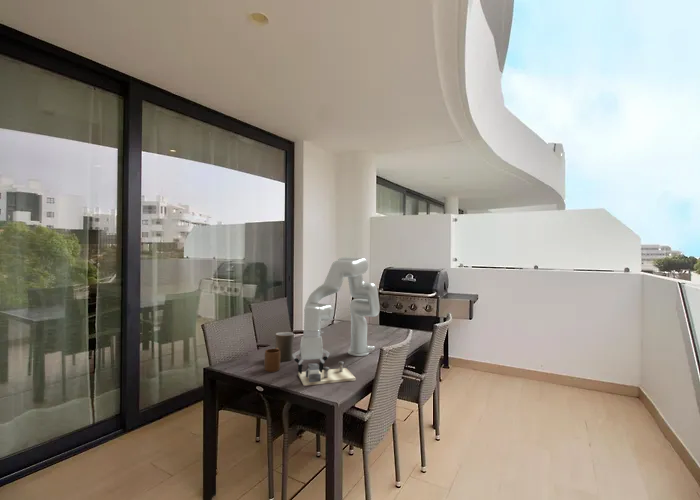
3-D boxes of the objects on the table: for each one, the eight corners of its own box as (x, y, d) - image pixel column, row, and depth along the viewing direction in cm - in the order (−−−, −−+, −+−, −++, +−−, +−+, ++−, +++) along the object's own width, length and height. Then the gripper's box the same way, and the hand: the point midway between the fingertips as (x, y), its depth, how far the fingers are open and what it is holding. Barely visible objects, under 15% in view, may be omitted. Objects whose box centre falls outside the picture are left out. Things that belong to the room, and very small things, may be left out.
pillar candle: (289, 362, 180) (290, 333, 180) (271, 360, 182) (272, 332, 182) (295, 357, 190) (296, 330, 190) (279, 355, 192) (280, 328, 192)
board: (346, 370, 170) (346, 359, 170) (355, 380, 157) (355, 368, 157) (298, 374, 162) (298, 362, 162) (303, 385, 149) (304, 372, 149)
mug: (270, 364, 177) (271, 345, 177) (284, 365, 176) (285, 346, 176) (261, 372, 165) (262, 352, 165) (277, 373, 164) (277, 353, 164)
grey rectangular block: (316, 376, 157) (317, 363, 157) (318, 379, 153) (319, 366, 153) (308, 377, 156) (308, 364, 156) (309, 380, 152) (310, 367, 152)
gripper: (328, 331, 161) (327, 368, 160) (291, 332, 156) (290, 370, 155) (332, 334, 154) (331, 373, 153) (293, 336, 148) (292, 376, 148)
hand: (310, 372), depth 154 cm, fingers open, 8 cm apart
